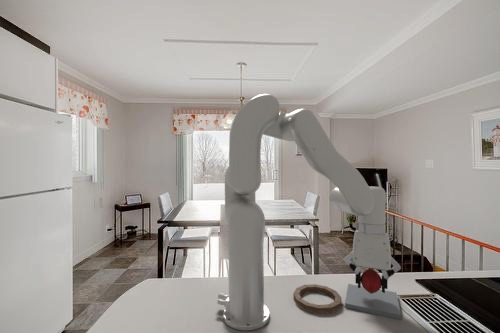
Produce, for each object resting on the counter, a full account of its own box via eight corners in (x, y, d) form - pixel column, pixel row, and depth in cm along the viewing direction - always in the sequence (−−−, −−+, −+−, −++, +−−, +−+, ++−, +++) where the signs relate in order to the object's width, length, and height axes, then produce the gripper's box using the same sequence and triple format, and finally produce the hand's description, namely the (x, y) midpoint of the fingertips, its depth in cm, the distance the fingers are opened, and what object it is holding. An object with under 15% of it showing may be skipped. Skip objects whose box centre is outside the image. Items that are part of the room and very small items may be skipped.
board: (345, 307, 73) (345, 303, 73) (348, 287, 85) (348, 283, 85) (401, 319, 67) (401, 315, 67) (396, 296, 79) (396, 292, 79)
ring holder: (288, 306, 74) (288, 301, 74) (300, 286, 86) (300, 281, 86) (338, 318, 68) (338, 312, 68) (342, 294, 80) (342, 289, 80)
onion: (384, 299, 73) (384, 271, 73) (363, 297, 74) (363, 270, 74) (378, 289, 78) (378, 263, 78) (358, 287, 80) (358, 262, 80)
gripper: (339, 228, 76) (339, 288, 76) (406, 234, 69) (406, 300, 69) (341, 222, 83) (341, 277, 83) (403, 228, 76) (402, 288, 76)
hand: (371, 287), depth 76 cm, fingers closed on onion, 5 cm apart
